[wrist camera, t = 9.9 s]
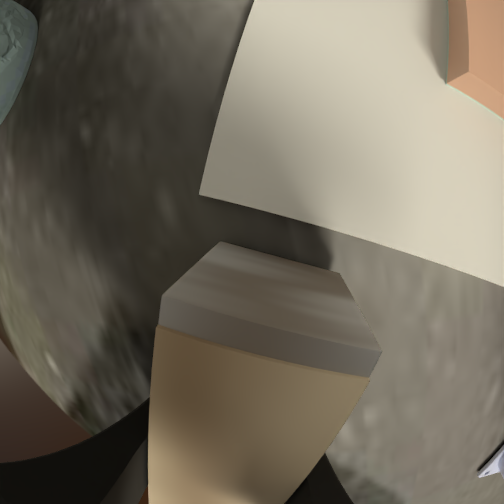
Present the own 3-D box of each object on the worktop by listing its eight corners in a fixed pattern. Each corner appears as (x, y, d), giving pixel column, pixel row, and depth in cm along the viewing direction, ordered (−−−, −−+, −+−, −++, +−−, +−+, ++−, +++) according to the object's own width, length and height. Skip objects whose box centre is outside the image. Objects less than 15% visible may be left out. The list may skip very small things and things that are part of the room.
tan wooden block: (338, 272, 9) (383, 354, 5) (257, 462, 12) (245, 543, 7) (220, 240, 10) (159, 297, 5) (180, 442, 12) (149, 518, 7)
